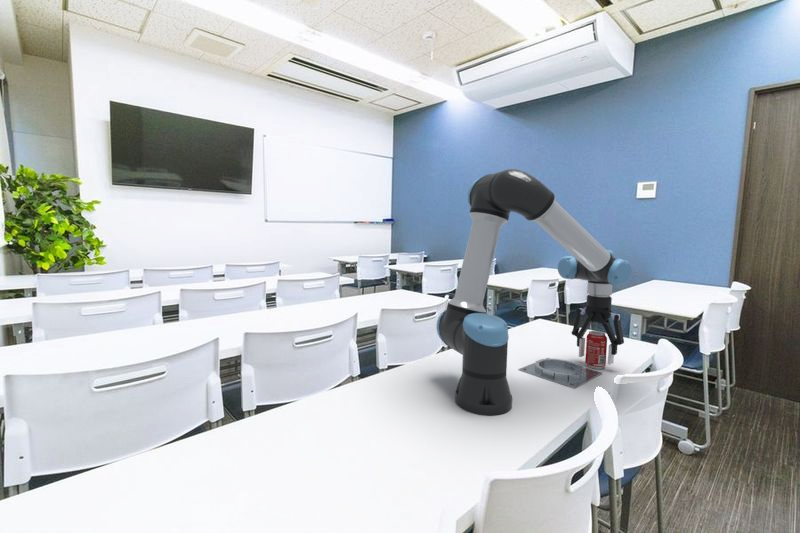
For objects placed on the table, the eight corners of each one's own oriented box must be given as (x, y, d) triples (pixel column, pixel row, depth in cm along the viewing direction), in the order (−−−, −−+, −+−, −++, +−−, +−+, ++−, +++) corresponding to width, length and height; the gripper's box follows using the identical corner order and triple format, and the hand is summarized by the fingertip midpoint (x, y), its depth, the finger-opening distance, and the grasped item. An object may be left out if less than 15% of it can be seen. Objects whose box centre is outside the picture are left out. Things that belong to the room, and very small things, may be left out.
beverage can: (600, 364, 137) (602, 330, 136) (608, 370, 130) (610, 335, 129) (582, 363, 137) (584, 330, 136) (589, 369, 131) (591, 334, 130)
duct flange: (574, 388, 114) (575, 381, 114) (518, 370, 129) (518, 364, 129) (601, 374, 127) (602, 368, 127) (547, 359, 141) (547, 353, 141)
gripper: (638, 298, 126) (634, 365, 128) (573, 290, 142) (569, 350, 144) (630, 300, 121) (625, 370, 123) (562, 292, 137) (559, 354, 139)
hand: (595, 359), depth 133 cm, fingers open, 9 cm apart
